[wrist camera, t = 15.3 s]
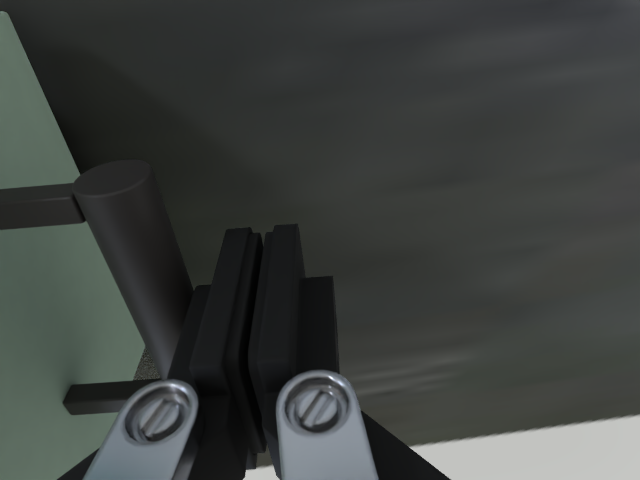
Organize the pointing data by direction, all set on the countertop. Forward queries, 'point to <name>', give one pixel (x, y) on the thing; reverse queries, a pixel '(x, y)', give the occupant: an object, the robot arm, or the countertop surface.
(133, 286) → the drawer
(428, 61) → the countertop surface
